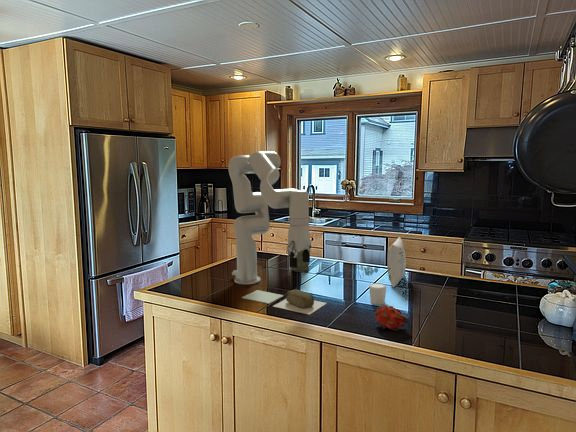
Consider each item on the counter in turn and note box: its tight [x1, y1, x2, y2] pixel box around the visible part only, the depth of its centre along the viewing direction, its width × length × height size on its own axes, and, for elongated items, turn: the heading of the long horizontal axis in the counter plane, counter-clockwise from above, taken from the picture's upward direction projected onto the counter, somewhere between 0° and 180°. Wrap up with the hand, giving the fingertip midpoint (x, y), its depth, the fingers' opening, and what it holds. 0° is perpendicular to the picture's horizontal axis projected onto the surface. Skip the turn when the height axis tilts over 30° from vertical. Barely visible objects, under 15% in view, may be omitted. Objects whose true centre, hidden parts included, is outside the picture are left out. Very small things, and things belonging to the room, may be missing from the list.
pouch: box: [386, 236, 407, 289], centre depth 194 cm, size 8×19×20 cm, turn 152°
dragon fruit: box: [374, 304, 409, 332], centre depth 143 cm, size 8×8×12 cm
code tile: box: [272, 298, 327, 316], centre depth 167 cm, size 17×14×1 cm
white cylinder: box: [368, 282, 387, 305], centre depth 168 cm, size 7×7×7 cm
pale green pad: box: [241, 289, 284, 305], centre depth 177 cm, size 14×11×1 cm
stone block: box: [285, 289, 315, 308], centre depth 166 cm, size 6×12×5 cm, turn 41°
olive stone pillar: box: [292, 251, 310, 273], centre depth 216 cm, size 9×12×35 cm
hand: (300, 264), depth 164 cm, fingers open, 9 cm apart
